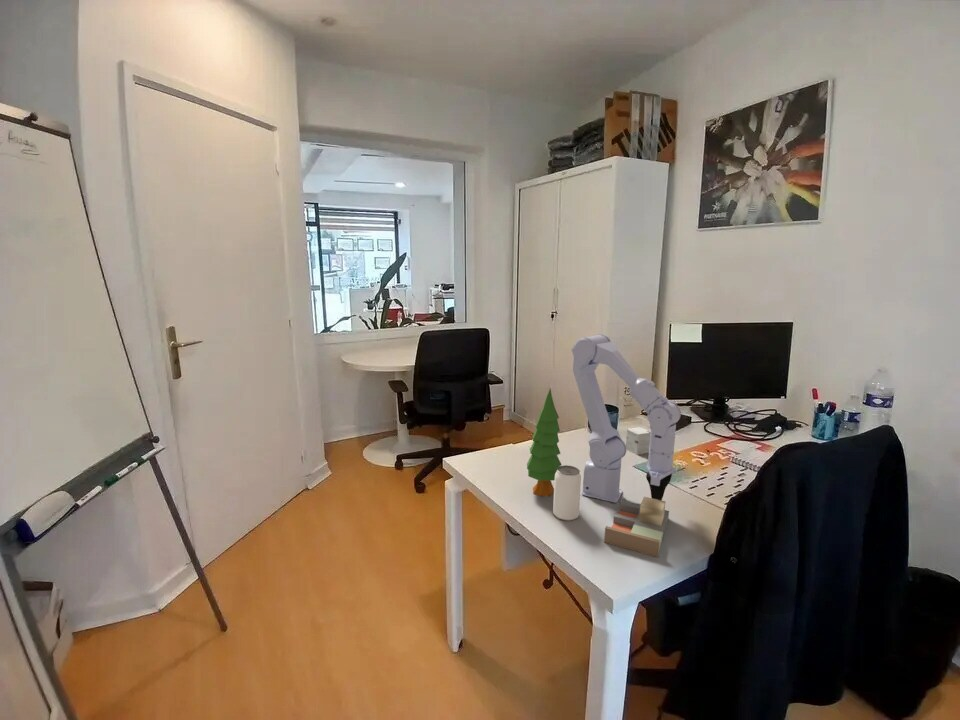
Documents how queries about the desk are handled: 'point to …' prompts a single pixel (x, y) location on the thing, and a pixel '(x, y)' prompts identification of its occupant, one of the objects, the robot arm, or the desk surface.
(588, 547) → the desk surface
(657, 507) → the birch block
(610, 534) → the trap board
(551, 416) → the decorative tree
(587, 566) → the desk surface
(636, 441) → the skincare box
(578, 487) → the can
